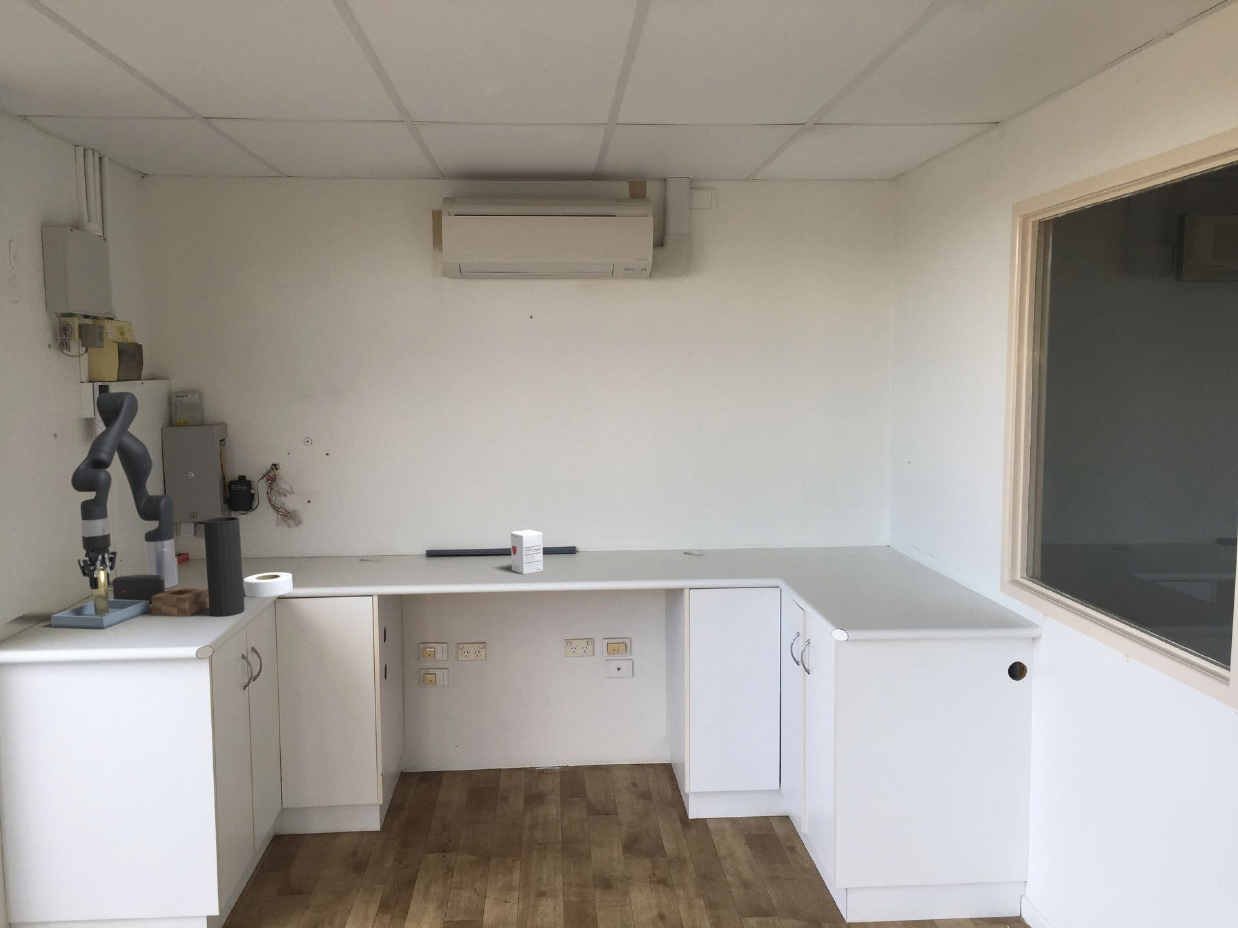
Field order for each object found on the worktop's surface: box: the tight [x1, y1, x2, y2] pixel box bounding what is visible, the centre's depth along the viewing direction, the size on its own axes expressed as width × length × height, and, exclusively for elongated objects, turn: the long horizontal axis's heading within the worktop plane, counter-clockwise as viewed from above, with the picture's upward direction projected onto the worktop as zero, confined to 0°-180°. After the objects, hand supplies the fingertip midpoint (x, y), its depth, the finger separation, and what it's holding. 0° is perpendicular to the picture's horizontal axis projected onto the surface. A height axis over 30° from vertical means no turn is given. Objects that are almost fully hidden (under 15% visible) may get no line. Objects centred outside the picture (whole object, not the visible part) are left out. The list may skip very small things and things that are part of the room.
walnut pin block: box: [151, 586, 209, 617], centre depth 284 cm, size 12×12×6 cm
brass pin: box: [92, 564, 110, 615], centre depth 275 cm, size 4×4×15 cm
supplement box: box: [510, 529, 544, 575], centre depth 334 cm, size 9×9×15 cm
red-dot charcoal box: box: [112, 574, 166, 605], centre depth 295 cm, size 16×5×9 cm, turn 96°
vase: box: [203, 516, 246, 618], centre depth 280 cm, size 10×10×30 cm
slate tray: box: [50, 598, 151, 630], centre depth 276 cm, size 20×18×4 cm
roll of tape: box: [243, 571, 294, 598], centre depth 308 cm, size 16×16×6 cm
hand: (100, 586), depth 275 cm, fingers closed on brass pin, 4 cm apart
